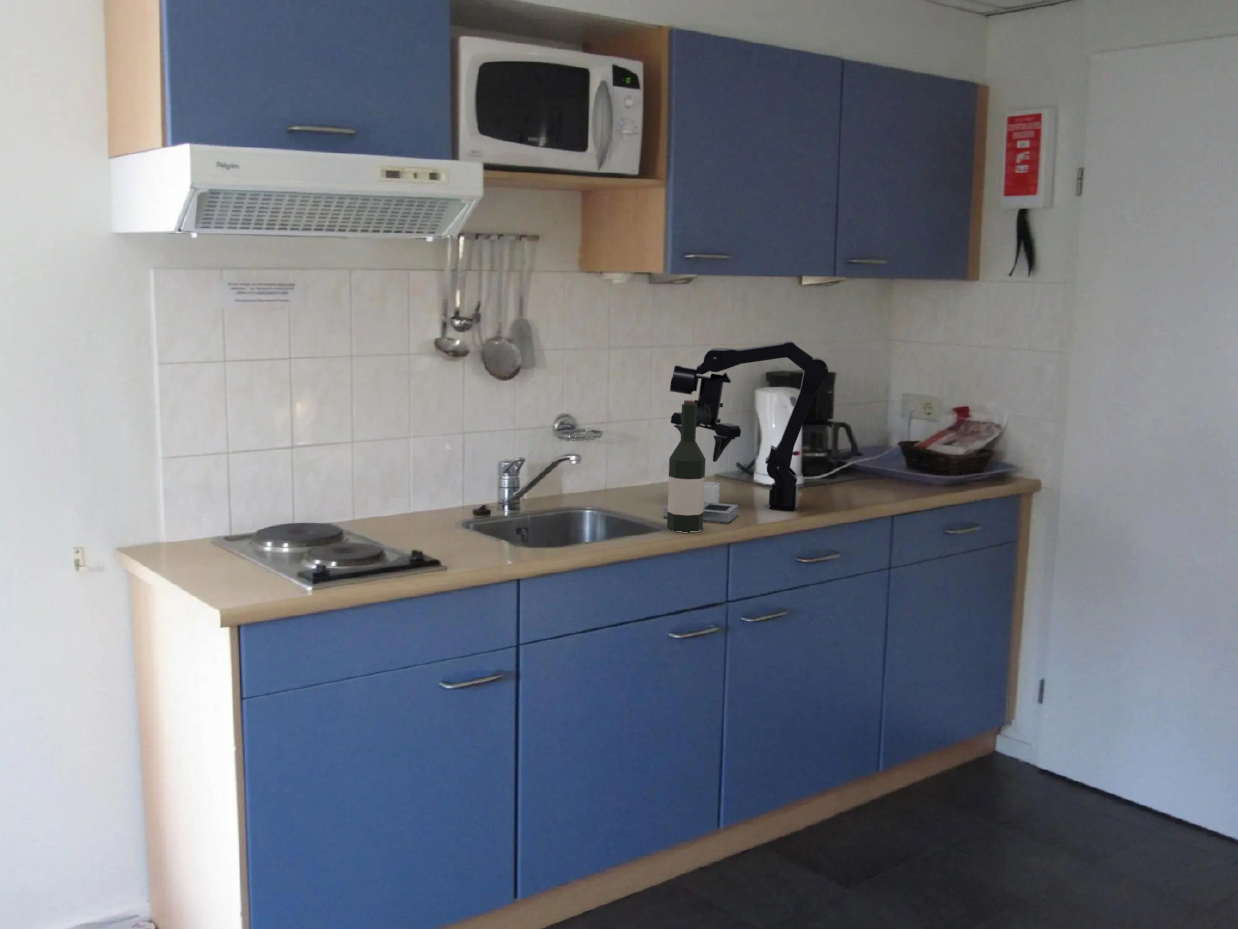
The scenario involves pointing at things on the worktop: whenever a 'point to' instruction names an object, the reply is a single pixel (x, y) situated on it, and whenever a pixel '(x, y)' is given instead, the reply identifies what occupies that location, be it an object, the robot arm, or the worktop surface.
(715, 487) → the plug
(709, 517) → the socket plate
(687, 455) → the wine bottle
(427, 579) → the worktop surface
